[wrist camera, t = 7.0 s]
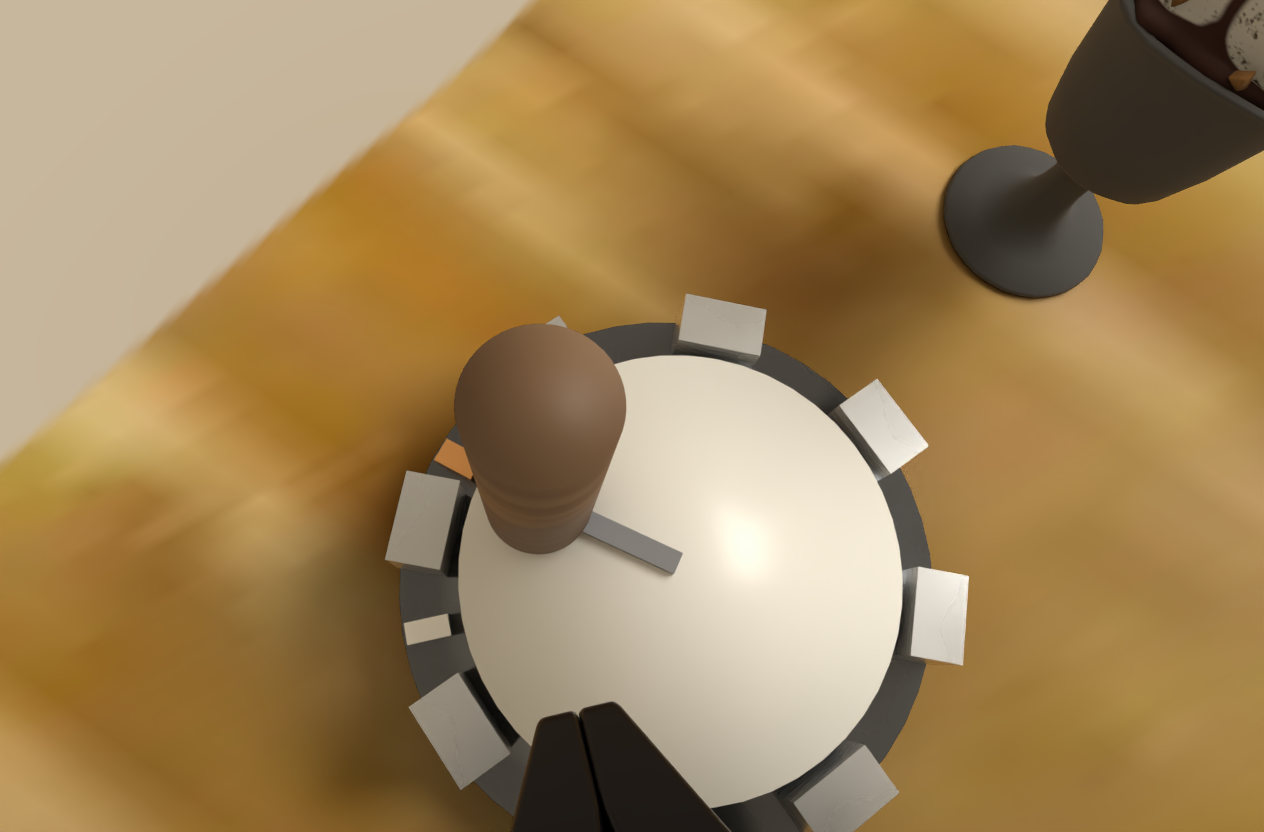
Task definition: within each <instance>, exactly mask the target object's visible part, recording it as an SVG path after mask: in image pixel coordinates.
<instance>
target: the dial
mask: <svg viewBox="0 0 1264 832" xmlns="http://www.w3.org/2000/svg"><path fill="white" fill-rule="evenodd" d="M454 412H455V420H456V424H457V428H458V432H459V435H460V438H461V441H462V444H463V447H464V450H465V453H466V456H467V459H468V462H469V465H470V467H471V470H472V473H473V476H474V479H475V482H476V485H477V488H476V490H475V493H474V495H473V497H472V500H471V503H470V506H469V510H468V513H467V517H466V521H465V524H464V528H463V533H462V540H461V547H460V554H459V579H458V591H459V599H460V607H461V615H462V622H463V626H464V630H465V633H466V637H467V641H468V645H469V649H470V652H471V654H472V657H473V659H474V662H475V664H476V667H477V669H478V672H479V674H480V677H481V679H482V681H483V683H484V684H485V686H486V688H487V690H488V691H489V693H490V695H491V697H492V698H493V700H494V702H495V704H496V705H497V707H498V708H499V710H500V711H501V712H502V714H503V715H504V716H505V717H506V719H507V720H508V721H509V723H510V724H511V725H512V727H513V728H514V729H515V731H516V732H517V733H518V734H519V735H520V736H521V737H522V738H523V739H524V740H525V741H526V742H527V743H528V744H529V745H530V746H531V745H532V741H533V737H534V733H535V729H536V726H537V724H538V722H539V720H540V719H542V718H544V717H547V716H551V715H556V714H560V713H564V712H568V711H573V712H576V714H577V715H578V717H579V712H580V711H581V710H582V709H583V708H585V707H589V706H593V705H597V704H601V703H606V702H611V701H613V702H616V703H618V704H619V705H620V706H621V707H622V708H623V709H624V710H625V711H626V712H627V713H628V715H629V716H630V717H631V718H632V719H633V720H634V721H635V723H636V724H637V725H638V726H639V727H640V728H641V729H642V731H643V732H644V733H645V734H646V735H647V736H648V737H649V739H650V740H651V741H652V742H653V743H654V744H655V745H656V747H657V748H658V749H659V750H660V751H661V752H662V753H663V755H664V756H665V757H666V758H667V759H668V760H669V761H670V763H671V764H672V765H673V766H674V767H675V768H676V769H677V771H678V772H679V773H680V774H681V775H682V776H683V777H684V779H685V780H686V781H687V782H688V783H689V784H690V786H691V787H692V788H693V789H694V790H695V791H696V792H697V794H698V795H699V796H700V797H701V798H702V799H703V800H704V802H705V803H706V804H707V805H708V806H709V807H710V808H714V807H719V806H724V805H729V804H734V803H739V802H744V801H747V800H749V799H752V798H755V797H758V796H761V795H763V794H766V793H769V792H772V791H774V790H776V789H778V788H780V787H781V786H783V785H785V784H787V783H789V782H791V781H793V780H795V779H797V778H799V777H800V776H801V775H803V774H804V773H806V772H807V771H808V770H810V769H811V768H813V767H814V766H815V765H817V764H818V763H819V762H821V761H822V760H824V759H825V758H826V757H827V756H828V755H829V754H830V753H831V752H832V751H833V750H834V749H835V748H836V747H837V746H838V745H839V744H840V743H841V742H842V741H843V740H844V739H845V738H846V737H847V736H848V735H849V733H850V732H851V731H852V730H853V728H854V727H855V726H856V724H857V723H858V722H859V721H860V719H861V718H862V717H863V716H864V714H865V712H866V711H867V709H868V707H869V705H870V704H871V702H872V700H873V699H874V697H875V695H876V694H877V692H878V690H879V688H880V686H881V683H882V681H883V679H884V676H885V674H886V671H887V669H888V667H889V664H890V662H891V658H892V654H893V651H894V647H895V644H896V640H897V636H898V631H899V624H900V617H901V610H902V580H903V576H902V567H901V558H900V549H899V544H898V540H897V536H896V531H895V527H894V523H893V519H892V516H891V514H890V511H889V508H888V506H887V503H886V500H885V498H884V495H883V492H882V490H881V489H880V487H879V485H878V483H877V481H876V479H875V477H874V475H873V473H872V471H871V469H870V467H869V466H868V464H867V463H866V461H865V460H864V458H863V457H862V456H861V454H860V453H859V451H858V450H857V448H856V447H855V445H854V444H853V443H852V442H851V440H850V439H849V438H848V437H847V436H846V435H845V434H844V432H843V431H842V430H841V429H840V428H839V427H838V426H837V424H836V423H835V422H834V421H832V420H831V419H830V418H829V417H828V416H827V415H826V414H825V413H824V412H822V411H821V410H820V409H819V408H818V407H817V406H816V405H815V404H813V403H812V402H810V401H809V400H808V399H806V398H805V397H803V396H802V395H800V394H799V393H798V392H796V391H795V390H793V389H792V388H790V387H788V386H786V385H784V384H783V383H781V382H779V381H777V380H775V379H773V378H771V377H769V376H768V375H765V374H762V373H760V372H757V371H755V370H752V369H750V368H747V367H744V366H742V365H738V364H734V363H730V362H726V361H722V360H718V359H712V358H704V357H696V356H654V357H647V358H639V359H632V360H629V361H625V362H621V363H617V364H614V363H613V362H612V360H611V359H610V357H609V356H608V355H607V354H606V353H605V351H604V350H603V349H602V348H600V347H599V346H598V345H597V344H596V343H595V342H593V341H592V340H591V339H589V338H588V337H586V336H584V335H582V334H580V333H579V332H577V331H574V330H571V329H569V328H566V327H562V326H558V325H551V324H530V325H523V326H519V327H515V328H511V329H509V330H506V331H504V332H502V333H500V334H498V335H496V336H494V337H493V338H491V339H490V340H488V341H487V342H486V343H484V344H483V345H482V346H481V347H480V348H479V349H478V350H477V351H476V352H475V353H474V354H473V356H472V357H471V358H470V359H469V361H468V362H467V364H466V366H465V367H464V369H463V371H462V373H461V376H460V378H459V381H458V384H457V388H456V393H455V399H454Z"/></svg>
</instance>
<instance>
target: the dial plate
mask: <svg viewBox="0 0 1264 832" xmlns="http://www.w3.org/2000/svg"><path fill="white" fill-rule="evenodd" d="M766 312H767V310H766V309H761V308H756V307H751V306H746V305H741V304H736V303H731V302H726V301H721V300H716V299H711V298H706V297H701V296H696V295H691V294H686V295H685V298H684V300H683V303H682V305H681V308H680V310H679V312H678V315H677V317H676V320H675V323H642V324H633V325H625V326H616V327H612V328H608V329H604V330H599V331H595V332H591V333H587V334H583V335H584V336H586V337H588V338H589V339H591V340H592V341H593V342H595V343H596V344H597V345H598V346H599V347H600V348H602V349H603V350H604V351H605V353H606V354H607V355H608V356H609V357H610V359H611V360H612V362H613V363H614V364H617V363H621V362H625V361H629V360H632V359H639V358H647V357H654V356H696V357H704V358H712V359H718V360H722V361H726V362H730V363H734V364H738V365H742V366H744V367H747V368H750V369H752V370H755V371H757V372H760V373H762V374H765V375H768V376H769V377H771V378H773V379H775V380H777V381H779V382H781V383H783V384H784V385H786V386H788V387H790V388H792V389H793V390H795V391H796V392H798V393H799V394H800V395H802V396H803V397H805V398H806V399H808V400H809V401H810V402H812V403H813V404H815V405H816V406H817V407H818V408H819V409H820V410H821V411H822V412H824V413H825V414H826V415H827V416H828V417H829V418H830V419H831V420H832V421H834V422H835V423H836V424H837V426H838V427H839V428H840V429H841V430H842V431H843V432H844V434H845V435H846V436H847V437H848V438H849V439H850V440H851V442H852V443H853V444H854V445H855V447H856V448H857V450H858V451H859V453H860V454H861V456H862V457H863V458H864V460H865V461H866V463H867V464H868V466H869V467H870V469H871V471H872V473H873V475H874V477H875V479H876V481H877V483H878V485H879V487H880V489H881V490H882V492H883V495H884V498H885V500H886V503H887V506H888V508H889V511H890V514H891V516H892V519H893V523H894V527H895V531H896V536H897V540H898V544H899V549H900V558H901V567H902V576H903V580H902V610H901V617H900V624H899V631H898V636H897V640H896V644H895V647H894V651H893V654H892V658H891V662H890V664H889V667H888V669H887V671H886V674H885V676H884V679H883V681H882V683H881V686H880V688H879V690H878V692H877V694H876V695H875V697H874V699H873V700H872V702H871V704H870V705H869V707H868V709H867V711H866V712H865V714H864V716H863V717H862V718H861V719H860V721H859V722H858V723H857V724H856V726H855V727H854V728H853V730H852V731H851V732H850V733H849V735H848V736H847V737H846V738H845V739H844V740H843V741H842V742H841V743H840V744H839V745H838V746H837V747H836V748H835V749H834V750H833V751H832V752H831V753H830V754H829V755H828V756H827V757H826V758H825V759H824V760H822V761H821V762H819V763H818V764H817V765H815V766H814V767H813V768H811V769H810V770H808V771H807V772H806V773H804V774H803V775H801V776H800V777H799V778H797V779H795V780H793V781H791V782H789V783H787V784H785V785H783V786H781V787H780V788H778V789H776V790H774V791H772V792H769V793H766V794H763V795H761V796H758V797H755V798H752V799H749V800H747V801H744V802H739V803H734V804H729V805H724V806H719V807H714V808H711V810H712V811H713V812H714V813H715V814H716V815H717V816H718V818H719V819H720V820H721V821H722V822H723V823H724V824H725V826H726V827H727V828H728V829H729V830H730V831H731V832H853V831H855V830H856V829H857V828H858V827H859V826H860V825H862V824H863V823H864V822H865V821H866V820H868V819H869V818H870V817H871V816H872V815H873V814H875V813H876V812H877V811H878V810H879V809H881V808H882V807H883V806H884V805H885V804H887V803H888V802H889V801H890V800H891V799H892V798H894V797H895V796H896V795H897V794H898V793H899V792H898V790H897V789H896V787H895V786H894V785H893V783H892V782H891V780H890V779H889V778H888V776H887V775H886V773H885V772H884V771H883V769H882V768H881V766H880V765H879V764H880V763H881V762H882V760H883V759H884V758H885V757H886V755H887V753H888V752H889V750H890V748H891V747H892V745H893V743H894V742H895V740H896V738H897V737H898V735H899V733H900V731H901V730H902V728H903V726H904V725H905V722H906V720H907V718H908V715H909V713H910V710H911V708H912V706H913V703H914V701H915V699H916V696H917V694H918V691H919V688H920V684H921V681H922V677H923V673H924V670H925V666H926V664H928V665H963V652H964V638H965V624H966V610H967V595H968V581H969V576H966V575H960V574H955V573H950V572H944V571H939V570H934V569H931V561H930V553H929V549H928V544H927V540H926V536H925V532H924V527H923V523H922V519H921V517H920V514H919V511H918V508H917V506H916V503H915V500H914V497H913V495H912V492H911V489H910V487H909V485H908V483H907V481H906V479H905V477H904V475H903V473H902V471H901V469H900V467H901V466H902V465H904V464H905V463H906V462H908V461H909V460H910V459H912V458H913V457H915V456H916V455H917V454H919V453H920V452H921V451H923V450H924V449H925V448H927V447H928V446H929V445H928V444H927V443H926V442H925V440H924V439H923V438H922V436H921V435H920V434H919V432H918V431H917V430H916V429H915V427H914V426H913V425H912V423H911V422H910V421H909V419H908V418H907V417H906V416H905V414H904V413H903V412H902V410H901V409H900V408H899V406H898V405H897V404H896V403H895V401H894V400H893V399H892V397H891V396H890V395H889V394H888V392H887V391H886V390H885V388H884V387H883V386H882V384H881V383H880V382H879V381H878V379H876V380H875V381H873V382H872V383H870V384H869V385H867V386H866V387H865V388H863V389H862V390H860V391H859V392H857V393H856V394H855V395H853V396H852V397H850V398H849V399H847V398H846V397H845V396H844V395H843V394H842V393H841V392H840V391H838V390H837V389H836V388H835V387H834V386H833V385H832V384H831V383H830V382H828V381H827V380H825V379H824V378H823V377H821V376H820V375H818V374H817V373H816V372H814V371H813V370H811V369H810V368H809V367H807V366H806V365H804V364H803V363H801V362H799V361H798V360H796V359H794V358H792V357H790V356H788V355H787V354H785V353H783V352H781V351H779V350H777V349H776V348H773V347H771V346H768V345H766V344H763V343H762V340H763V333H764V326H765V319H766ZM546 324H551V325H558V326H562V327H566V328H567V326H566V325H565V323H564V322H563V321H562V319H561V318H560V316H558V317H556V318H554V319H553V320H551V321H550V322H548V323H546ZM476 488H477V485H476V482H475V479H474V476H473V473H472V470H471V467H470V465H469V462H468V459H467V456H466V453H465V450H464V447H463V444H462V441H461V438H460V435H459V432H458V428H457V424H456V425H455V426H454V427H453V428H452V430H451V431H450V432H449V434H448V436H447V437H446V439H445V440H444V442H443V444H442V445H441V447H440V448H439V450H438V451H437V453H436V455H435V456H434V458H433V459H432V461H431V464H430V466H429V468H428V470H427V472H426V474H422V473H417V472H412V471H406V475H405V479H404V483H403V487H402V491H401V495H400V499H399V503H398V508H397V512H396V516H395V520H394V524H393V528H392V532H391V536H390V540H389V544H388V549H387V553H386V557H385V560H386V561H388V562H389V563H391V564H392V565H394V566H395V567H397V568H400V594H399V600H400V611H401V621H402V632H403V638H404V643H405V647H406V651H407V656H408V660H409V664H410V669H411V673H412V675H413V678H414V681H415V683H416V686H417V689H418V691H419V694H420V697H421V699H419V700H418V701H417V702H415V703H414V704H412V705H411V706H409V709H410V711H411V712H412V714H413V715H414V717H415V718H416V720H417V722H418V723H419V725H420V726H421V728H422V730H423V731H424V733H425V734H426V736H427V738H428V739H429V741H430V742H431V744H432V746H433V747H434V749H435V750H436V752H437V753H438V755H439V757H440V758H441V760H442V761H443V763H444V765H445V766H446V768H447V769H448V771H449V773H450V774H451V776H452V777H453V779H454V780H455V782H456V784H457V785H458V787H459V788H460V790H462V789H463V788H465V787H466V786H467V785H469V784H470V783H471V782H473V781H475V783H476V784H477V785H478V786H479V787H480V788H481V789H482V790H483V791H484V792H485V793H486V794H487V795H488V796H489V797H490V798H491V799H492V800H493V801H494V802H496V803H497V804H498V805H500V806H501V807H502V808H503V809H505V810H506V811H507V812H509V813H510V814H511V815H512V816H514V814H515V810H516V806H517V802H518V798H519V794H520V790H521V786H522V782H523V778H524V774H525V770H526V766H527V762H528V757H529V753H530V749H531V746H530V745H529V744H528V743H527V742H526V741H525V740H524V739H523V738H522V737H521V736H520V735H519V734H518V733H517V732H516V731H515V729H514V728H513V727H512V725H511V724H510V723H509V721H508V720H507V719H506V717H505V716H504V715H503V714H502V712H501V711H500V710H499V708H498V707H497V705H496V704H495V702H494V700H493V698H492V697H491V695H490V693H489V691H488V690H487V688H486V686H485V684H484V683H483V681H482V679H481V677H480V674H479V672H478V669H477V667H476V664H475V662H474V659H473V657H472V654H471V652H470V649H469V645H468V641H467V637H466V633H465V630H464V626H463V622H462V615H461V607H460V599H459V591H458V579H459V554H460V547H461V540H462V533H463V528H464V524H465V521H466V517H467V513H468V510H469V506H470V503H471V500H472V497H473V495H474V493H475V490H476Z"/></svg>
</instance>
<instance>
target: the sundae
mask: <svg viewBox="0 0 1264 832" xmlns="http://www.w3.org/2000/svg"><path fill="white" fill-rule="evenodd" d="M1045 125H1046V134H1047V137H1048V139H1049V142H1050V145H1051V148H1052V150H1053V153H1054V156H1055V158H1056V159H1055V158H1054V157H1052V156H1050V155H1048V154H1047V153H1045V152H1041V151H1038V150H1035V149H1032V148H1027V147H1022V146H1016V145H1013V146H1001V147H997V148H992V149H988V150H984V151H982V152H980V153H978V154H977V155H975V156H973V157H971V158H970V159H969V160H967V161H966V162H965V163H963V164H962V165H961V166H960V167H959V169H958V170H957V172H956V173H955V174H954V176H953V178H952V180H951V182H950V183H949V185H948V187H947V190H946V197H945V203H944V220H945V223H946V227H947V231H948V234H949V237H950V239H951V242H952V244H953V247H954V249H955V250H956V251H957V253H958V254H959V256H960V257H961V258H962V260H963V261H964V262H965V263H966V264H967V266H968V267H969V268H970V269H971V270H972V271H973V272H974V273H975V274H976V275H978V276H979V277H980V278H982V279H983V280H985V281H986V282H988V283H989V284H991V285H993V286H995V287H997V288H998V289H1000V290H1002V291H1004V292H1008V293H1012V294H1016V295H1019V296H1026V297H1033V298H1038V297H1047V296H1053V295H1057V294H1061V293H1065V292H1067V291H1068V290H1070V289H1072V288H1073V287H1075V286H1077V285H1078V284H1079V283H1080V282H1082V281H1083V280H1084V279H1085V278H1086V277H1088V276H1089V274H1090V273H1091V271H1092V269H1093V268H1094V266H1095V265H1096V262H1097V260H1098V258H1099V256H1100V253H1101V250H1102V241H1103V219H1102V215H1101V212H1100V209H1099V206H1098V203H1097V201H1096V199H1095V197H1094V194H1093V193H1095V194H1097V195H1100V196H1102V197H1105V198H1108V199H1112V200H1115V201H1118V202H1122V203H1126V204H1141V203H1147V202H1153V201H1158V200H1160V199H1163V198H1165V197H1167V196H1170V195H1172V194H1175V193H1177V192H1180V191H1182V190H1184V189H1187V188H1189V187H1192V186H1194V185H1197V184H1199V183H1202V182H1204V181H1207V180H1209V179H1210V178H1212V177H1214V176H1216V175H1218V174H1220V173H1222V172H1224V171H1226V170H1227V169H1229V168H1231V167H1233V166H1235V165H1237V164H1239V163H1241V162H1243V161H1245V160H1246V159H1248V158H1250V157H1252V156H1254V155H1256V154H1258V153H1260V152H1262V151H1263V150H1264V0H1109V1H1108V2H1107V4H1106V5H1105V7H1104V8H1103V10H1102V11H1101V13H1100V14H1099V16H1098V17H1097V19H1096V20H1095V22H1094V23H1093V25H1092V27H1091V28H1090V30H1089V31H1088V33H1087V34H1086V36H1085V37H1084V39H1083V40H1082V42H1081V43H1080V45H1079V46H1078V48H1077V49H1076V51H1075V52H1074V54H1073V56H1072V57H1071V59H1070V61H1069V63H1068V65H1067V67H1066V69H1065V71H1064V73H1063V75H1062V77H1061V79H1060V81H1059V83H1058V85H1057V87H1056V89H1055V91H1054V94H1053V96H1052V98H1051V100H1050V102H1049V105H1048V110H1047V115H1046V124H1045Z"/></svg>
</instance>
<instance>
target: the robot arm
mask: <svg viewBox="0 0 1264 832" xmlns="http://www.w3.org/2000/svg"><path fill="white" fill-rule="evenodd" d="M510 832H731V831H730V830H729V829H728V828H727V827H726V826H725V824H724V823H723V822H722V821H721V820H720V819H719V818H718V816H717V815H716V814H715V813H714V812H713V811H712V810H711V808H710V807H709V806H708V805H707V804H706V803H705V802H704V800H703V799H702V798H701V797H700V796H699V795H698V794H697V792H696V791H695V790H694V789H693V788H692V787H691V786H690V784H689V783H688V782H687V781H686V780H685V779H684V777H683V776H682V775H681V774H680V773H679V772H678V771H677V769H676V768H675V767H674V766H673V765H672V764H671V763H670V761H669V760H668V759H667V758H666V757H665V756H664V755H663V753H662V752H661V751H660V750H659V749H658V748H657V747H656V745H655V744H654V743H653V742H652V741H651V740H650V739H649V737H648V736H647V735H646V734H645V733H644V732H643V731H642V729H641V728H640V727H639V726H638V725H637V724H636V723H635V721H634V720H633V719H632V718H631V717H630V716H629V715H628V713H627V712H626V711H625V710H624V709H623V708H622V707H621V706H620V705H619V704H618V703H616V702H613V701H611V702H606V703H601V704H597V705H593V706H589V707H585V708H583V709H582V710H581V711H580V712H579V717H578V715H577V714H576V712H573V711H568V712H564V713H560V714H556V715H551V716H547V717H544V718H542V719H540V720H539V722H538V724H537V726H536V729H535V733H534V737H533V741H532V745H531V749H530V753H529V757H528V762H527V766H526V770H525V774H524V778H523V782H522V786H521V790H520V794H519V798H518V802H517V806H516V810H515V814H514V818H513V822H512V826H511V830H510Z"/></svg>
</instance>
